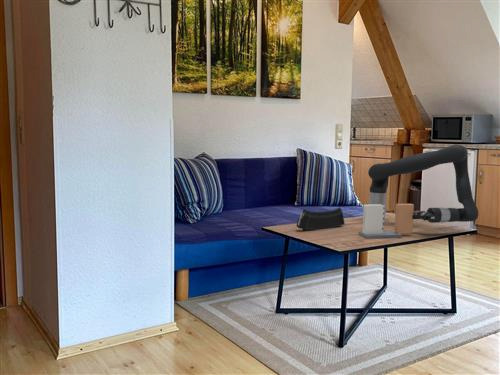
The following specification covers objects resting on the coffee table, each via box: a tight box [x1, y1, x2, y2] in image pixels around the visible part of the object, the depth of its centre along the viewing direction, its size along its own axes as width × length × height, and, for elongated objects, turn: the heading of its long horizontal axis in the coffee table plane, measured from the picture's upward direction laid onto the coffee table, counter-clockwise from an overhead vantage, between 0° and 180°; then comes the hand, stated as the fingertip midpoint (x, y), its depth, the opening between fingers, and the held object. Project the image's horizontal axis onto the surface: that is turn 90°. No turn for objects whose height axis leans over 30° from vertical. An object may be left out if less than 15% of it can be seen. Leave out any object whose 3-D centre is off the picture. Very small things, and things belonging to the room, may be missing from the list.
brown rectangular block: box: [394, 203, 415, 234], centre depth 249 cm, size 3×8×14 cm, turn 101°
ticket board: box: [357, 204, 402, 240], centre depth 247 cm, size 10×18×16 cm, turn 101°
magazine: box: [296, 206, 345, 232], centre depth 263 cm, size 17×3×30 cm
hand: (408, 215), depth 249 cm, fingers open, 8 cm apart
